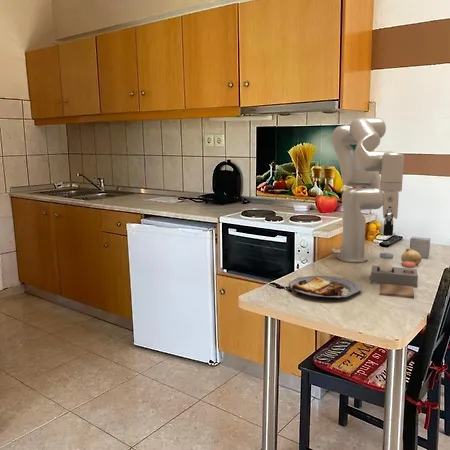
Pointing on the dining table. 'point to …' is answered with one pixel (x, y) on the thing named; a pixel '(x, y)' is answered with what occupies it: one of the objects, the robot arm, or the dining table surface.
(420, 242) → the medicine box
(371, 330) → the dining table surface
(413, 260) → the onion
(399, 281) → the housing
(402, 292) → the pad
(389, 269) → the cylinder
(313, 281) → the food plate
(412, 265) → the red round-topped peg
